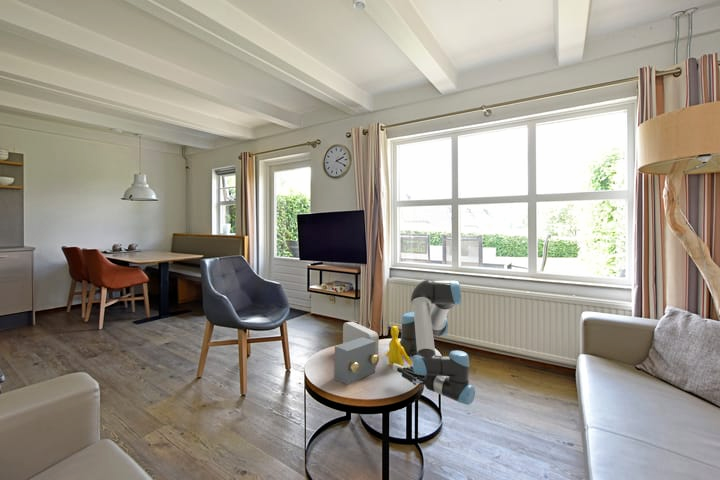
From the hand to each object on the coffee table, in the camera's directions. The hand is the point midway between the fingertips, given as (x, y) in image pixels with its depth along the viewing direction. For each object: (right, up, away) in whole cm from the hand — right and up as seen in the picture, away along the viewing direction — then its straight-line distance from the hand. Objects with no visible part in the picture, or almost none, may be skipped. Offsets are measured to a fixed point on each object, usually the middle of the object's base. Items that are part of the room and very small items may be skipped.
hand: (393, 366), depth 154 cm
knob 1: (-21, -2, +1) cm, 21 cm away
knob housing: (-18, -8, +8) cm, 21 cm away
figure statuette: (+3, -8, +20) cm, 22 cm away
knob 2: (-11, -2, +11) cm, 16 cm away
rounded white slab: (-17, -7, +30) cm, 35 cm away
